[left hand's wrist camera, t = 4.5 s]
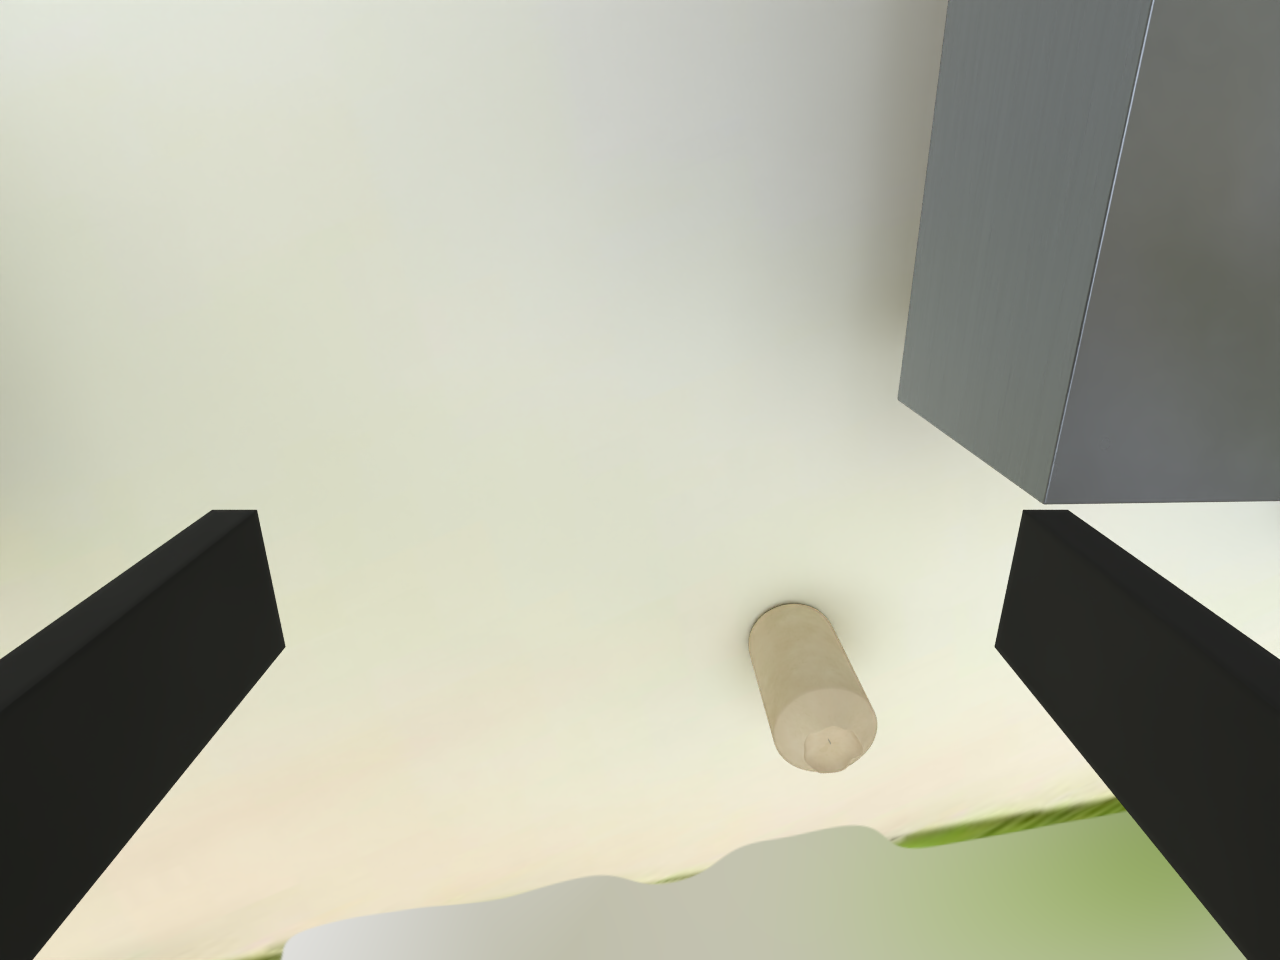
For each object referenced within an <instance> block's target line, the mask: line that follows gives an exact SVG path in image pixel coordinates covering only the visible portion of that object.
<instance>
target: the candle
mask: <svg viewBox="0 0 1280 960" xmlns="http://www.w3.org/2000/svg"><path fill="white" fill-rule="evenodd" d="M749 652H750V656H751V660H752V664H753V668H754V671H755V675H756V679H757V682H758V686H759V689H760V693H761V697H762V700H763V704H764V707H765V711H766V715H767V718H768V722H769V725H770V729H771V733H772V736H773V740H774V743H775V746H776V748H777V750H778V752H779V754H780V755H781V756H782V757H783V758H784V759H785V760H786V761H787V762H788V763H790V764H792V765H793V766H795V767H797V768H800V769H803V770H807V771H813V772H819V773H833V772H839V771H842V770H844V769H846V768H847V767H848V766H849V765H851V764H853V763H854V762H855V761H857V760H858V759H859V758H860V757H861V756H863V755H864V754H865V752H866V751H867V750H868V749H869V748H870V746H871V745H872V743H873V741H874V739H875V736H876V731H877V719H876V715H875V712H874V710H873V708H872V706H871V704H870V702H869V700H868V698H867V696H866V694H865V692H864V690H863V688H862V686H861V684H860V682H859V680H858V678H857V676H856V674H855V672H854V670H853V667H852V665H851V663H850V661H849V659H848V657H847V655H846V653H845V651H844V649H843V647H842V645H841V643H840V641H839V639H838V637H837V635H836V633H835V631H834V629H833V627H832V626H831V624H830V622H829V621H828V619H827V618H826V617H825V616H824V615H823V614H822V613H821V612H819V611H818V610H816V609H814V608H812V607H810V606H807V605H803V604H786V605H782V606H778V607H776V608H773V609H771V610H769V611H768V612H766V613H765V614H764V615H762V616H761V617H760V618H759V619H758V620H757V622H756V623H755V624H754V626H753V628H752V630H751V633H750V636H749Z"/></svg>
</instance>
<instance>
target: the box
mask: <svg viewBox="0 0 1280 960" xmlns="http://www.w3.org/2000/svg"><path fill="white" fill-rule="evenodd" d="M898 400H899V401H900V402H902V403H903V404H904V405H906V406H907V407H909V408H910V409H911V410H913V411H914V412H916V413H917V414H918V415H920V416H921V417H923V418H924V419H925V420H927V421H928V422H930V423H931V424H932V425H934V426H935V427H936V428H938V429H939V430H941V431H942V432H943V433H945V434H946V435H948V436H949V437H950V438H952V439H953V440H955V441H956V442H957V443H959V444H960V445H962V446H963V447H964V448H966V449H967V450H969V451H970V452H971V453H973V454H974V455H976V456H977V457H978V458H980V459H981V460H982V461H984V462H985V463H987V464H988V465H989V466H991V467H992V468H994V469H995V470H996V471H998V472H999V473H1001V474H1002V475H1003V476H1005V477H1006V478H1008V479H1009V480H1010V481H1012V482H1013V483H1015V484H1016V485H1017V486H1019V487H1020V488H1022V489H1023V490H1024V491H1026V492H1027V493H1028V494H1030V495H1031V496H1033V497H1034V498H1035V499H1037V500H1038V501H1040V502H1041V503H1042V504H1101V503H1171V502H1240V501H1280V0H949V1H948V9H947V16H946V24H945V32H944V40H943V48H942V56H941V63H940V71H939V79H938V87H937V95H936V103H935V110H934V118H933V126H932V134H931V142H930V150H929V157H928V165H927V173H926V181H925V189H924V197H923V205H922V212H921V220H920V228H919V236H918V244H917V252H916V259H915V267H914V275H913V283H912V291H911V299H910V306H909V314H908V322H907V330H906V338H905V346H904V354H903V361H902V369H901V377H900V385H899V393H898Z"/></svg>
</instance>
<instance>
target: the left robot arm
mask: <svg viewBox="0 0 1280 960" xmlns="http://www.w3.org/2000/svg"><path fill="white" fill-rule="evenodd" d="M284 648H285V642H284V637H283V633H282V628H281V623H280V618H279V614H278V609H277V604H276V599H275V594H274V590H273V585H272V580H271V575H270V570H269V566H268V561H267V556H266V551H265V546H264V542H263V537H262V532H261V527H260V522H259V518H258V513H257V510H211V511H210V512H208V513H207V514H206V515H204V516H203V517H201V518H200V519H199V520H197V521H196V522H194V523H193V524H191V525H190V526H189V527H187V528H186V529H184V530H183V531H182V532H180V533H179V534H177V535H176V536H174V537H173V538H172V539H170V540H169V541H167V542H166V543H165V544H163V545H162V546H160V547H159V548H157V549H156V550H155V551H153V552H152V553H150V554H149V555H148V556H146V557H145V558H143V559H142V560H140V561H139V562H138V563H136V564H135V565H133V566H132V567H131V568H129V569H128V570H126V571H125V572H123V573H122V574H121V575H119V576H118V577H116V578H115V579H114V580H112V581H111V582H109V583H108V584H106V585H105V586H104V587H102V588H101V589H99V590H98V591H97V592H95V593H94V594H92V595H91V596H89V597H88V598H87V599H85V600H84V601H82V602H81V603H79V604H78V605H77V606H75V607H74V608H72V609H71V610H70V611H68V612H67V613H65V614H64V615H62V616H61V617H60V618H58V619H57V620H55V621H54V622H53V623H51V624H50V625H48V626H47V627H45V628H44V629H43V630H41V631H40V632H38V633H37V634H36V635H34V636H33V637H31V638H30V639H28V640H27V641H26V642H24V643H23V644H21V645H20V646H19V647H17V648H16V649H14V650H13V651H11V652H10V653H9V654H7V655H6V656H4V657H3V658H2V659H0V960H33V959H34V957H35V956H36V955H37V954H38V952H39V951H40V950H41V949H42V947H43V946H44V945H45V944H46V943H47V941H48V940H49V939H50V938H51V936H52V935H53V934H54V933H55V931H56V930H57V929H58V928H59V926H60V925H61V924H62V923H63V921H64V920H65V919H66V918H67V917H68V915H69V914H70V913H71V912H72V910H73V909H74V908H75V907H76V905H77V904H78V903H79V902H80V900H81V899H82V898H83V897H84V895H85V894H86V893H87V892H88V891H89V889H90V888H91V887H92V886H93V884H94V883H95V882H96V881H97V879H98V878H99V877H100V876H101V874H102V873H103V872H104V871H105V870H106V868H107V867H108V866H109V865H110V863H111V862H112V861H113V860H114V858H115V857H116V856H117V855H118V853H119V852H120V851H121V850H122V848H123V847H124V846H125V845H126V844H127V842H128V841H129V840H130V839H131V837H132V836H133V835H134V834H135V832H136V831H137V830H138V829H139V827H140V826H141V825H142V824H143V822H144V821H145V820H146V819H147V818H148V816H149V815H150V814H151V813H152V811H153V810H154V809H155V808H156V806H157V805H158V804H159V803H160V801H161V800H162V799H163V798H164V796H165V795H166V794H167V793H168V792H169V790H170V789H171V788H172V787H173V785H174V784H175V783H176V782H177V780H178V779H179V778H180V777H181V775H182V774H183V773H184V772H185V771H186V769H187V768H188V767H189V766H190V764H191V763H192V762H193V761H194V759H195V758H196V757H197V756H198V754H199V753H200V752H201V751H202V749H203V748H204V747H205V746H206V745H207V743H208V742H209V741H210V740H211V738H212V737H213V736H214V735H215V733H216V732H217V731H218V730H219V728H220V727H221V726H222V725H223V723H224V722H225V721H226V720H227V719H228V717H229V716H230V715H231V714H232V712H233V711H234V710H235V709H236V707H237V706H238V705H239V704H240V702H241V701H242V700H243V699H244V698H245V696H246V695H247V694H248V693H249V691H250V690H251V689H252V688H253V686H254V685H255V684H256V683H257V681H258V680H259V679H260V678H261V676H262V675H263V674H264V673H265V672H266V670H267V669H268V668H269V667H270V665H271V664H272V663H273V662H274V660H275V659H276V658H277V657H278V655H279V654H280V653H281V652H282V650H283V649H284ZM995 648H996V649H997V650H998V652H999V653H1000V654H1001V655H1002V657H1003V658H1004V659H1005V660H1006V662H1007V663H1008V664H1009V665H1010V667H1011V668H1012V669H1013V670H1014V672H1015V673H1016V674H1017V675H1018V676H1019V678H1020V679H1021V680H1022V681H1023V683H1024V684H1025V685H1026V686H1027V688H1028V689H1029V690H1030V691H1031V693H1032V694H1033V695H1034V696H1035V698H1036V699H1037V700H1038V701H1039V702H1040V704H1041V705H1042V706H1043V707H1044V709H1045V710H1046V711H1047V712H1048V714H1049V715H1050V716H1051V717H1052V719H1053V720H1054V721H1055V722H1056V723H1057V725H1058V726H1059V727H1060V728H1061V730H1062V731H1063V732H1064V733H1065V735H1066V736H1067V737H1068V738H1069V740H1070V741H1071V742H1072V743H1073V745H1074V746H1075V747H1076V748H1077V749H1078V751H1079V752H1080V753H1081V754H1082V756H1083V757H1084V758H1085V759H1086V761H1087V762H1088V763H1089V764H1090V766H1091V767H1092V768H1093V769H1094V771H1095V772H1096V773H1097V774H1098V775H1099V777H1100V778H1101V779H1102V780H1103V782H1104V783H1105V784H1106V785H1107V787H1108V788H1109V789H1110V790H1111V792H1112V793H1113V794H1114V795H1115V796H1116V798H1117V799H1118V800H1119V801H1120V803H1121V804H1122V805H1123V806H1124V808H1125V809H1126V810H1127V811H1128V813H1129V814H1130V815H1131V816H1132V818H1133V819H1134V820H1135V821H1136V822H1137V824H1138V825H1139V826H1140V827H1141V829H1142V830H1143V831H1144V832H1145V834H1146V835H1147V836H1148V837H1149V839H1150V840H1151V841H1152V842H1153V844H1154V845H1155V846H1156V847H1157V848H1158V850H1159V851H1160V852H1161V853H1162V855H1163V856H1164V857H1165V858H1166V860H1167V861H1168V862H1169V863H1170V865H1171V866H1172V867H1173V868H1174V869H1175V871H1176V872H1177V873H1178V874H1179V876H1180V877H1181V878H1182V879H1183V881H1184V882H1185V883H1186V884H1187V885H1188V887H1189V888H1190V889H1191V891H1192V892H1193V893H1194V894H1195V895H1196V897H1197V898H1198V899H1199V900H1200V902H1201V903H1202V904H1203V905H1204V907H1205V908H1206V909H1207V910H1208V912H1209V913H1210V914H1211V915H1212V917H1213V918H1214V919H1215V920H1216V921H1217V923H1218V924H1219V925H1220V926H1221V928H1222V929H1223V930H1224V931H1225V933H1226V934H1227V935H1228V936H1229V938H1230V939H1231V940H1232V941H1233V943H1234V944H1235V945H1236V946H1237V947H1238V949H1239V950H1240V951H1241V952H1242V954H1243V955H1244V956H1245V957H1246V959H1247V960H1280V659H1278V658H1277V657H1276V656H1274V655H1273V654H1271V653H1270V652H1269V651H1267V650H1266V649H1264V648H1263V647H1261V646H1260V645H1259V644H1257V643H1256V642H1254V641H1253V640H1252V639H1250V638H1249V637H1247V636H1246V635H1244V634H1243V633H1242V632H1240V631H1239V630H1237V629H1236V628H1235V627H1233V626H1232V625H1230V624H1229V623H1227V622H1226V621H1225V620H1223V619H1222V618H1220V617H1219V616H1218V615H1216V614H1215V613H1213V612H1212V611H1210V610H1209V609H1208V608H1206V607H1205V606H1203V605H1202V604H1201V603H1199V602H1198V601H1196V600H1195V599H1193V598H1192V597H1191V596H1189V595H1188V594H1186V593H1185V592H1183V591H1182V590H1181V589H1179V588H1178V587H1176V586H1175V585H1174V584H1172V583H1171V582H1169V581H1168V580H1166V579H1165V578H1164V577H1162V576H1161V575H1159V574H1158V573H1157V572H1155V571H1154V570H1152V569H1151V568H1149V567H1148V566H1147V565H1145V564H1144V563H1142V562H1141V561H1140V560H1138V559H1137V558H1135V557H1134V556H1132V555H1131V554H1130V553H1128V552H1127V551H1125V550H1124V549H1123V548H1121V547H1120V546H1118V545H1117V544H1115V543H1114V542H1113V541H1111V540H1110V539H1108V538H1107V537H1106V536H1104V535H1103V534H1101V533H1100V532H1098V531H1097V530H1096V529H1094V528H1093V527H1091V526H1090V525H1089V524H1087V523H1086V522H1084V521H1083V520H1081V519H1080V518H1079V517H1077V516H1076V515H1074V514H1073V513H1072V512H1070V511H1069V510H1023V513H1022V518H1021V522H1020V527H1019V532H1018V537H1017V542H1016V546H1015V551H1014V556H1013V561H1012V566H1011V570H1010V575H1009V580H1008V585H1007V590H1006V594H1005V599H1004V604H1003V609H1002V614H1001V618H1000V623H999V628H998V633H997V638H996V642H995Z"/></svg>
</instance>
